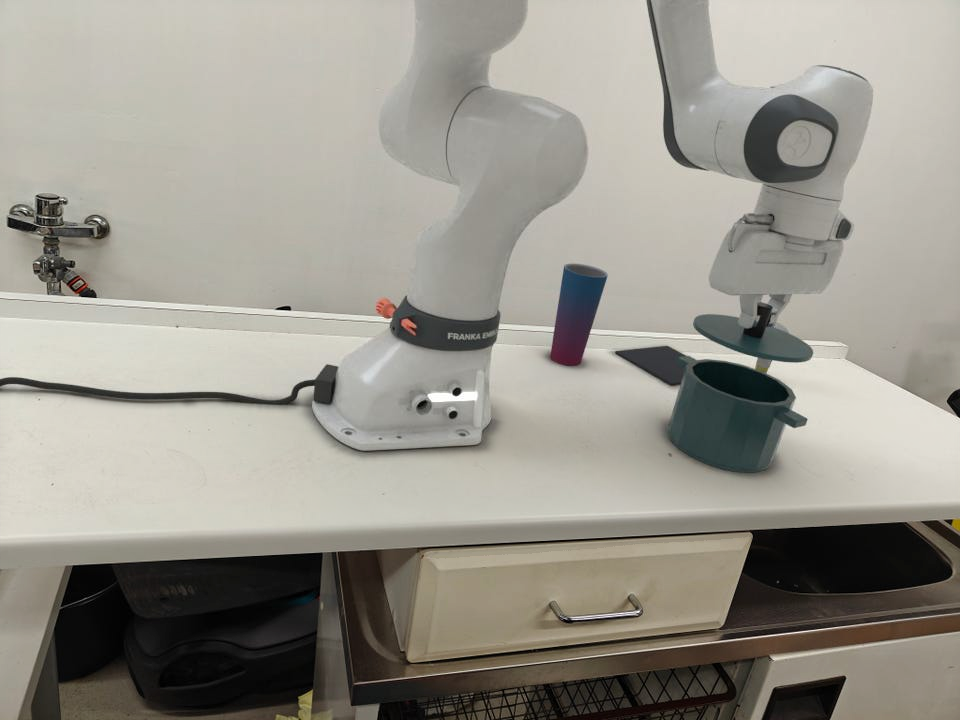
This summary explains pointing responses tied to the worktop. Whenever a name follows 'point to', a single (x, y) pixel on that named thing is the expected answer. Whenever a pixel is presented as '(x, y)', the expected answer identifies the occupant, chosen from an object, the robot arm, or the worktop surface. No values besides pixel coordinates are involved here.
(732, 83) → the robot arm
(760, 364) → the light bulb
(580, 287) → the cup
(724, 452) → the pot
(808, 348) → the lid
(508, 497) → the worktop surface
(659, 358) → the plate
